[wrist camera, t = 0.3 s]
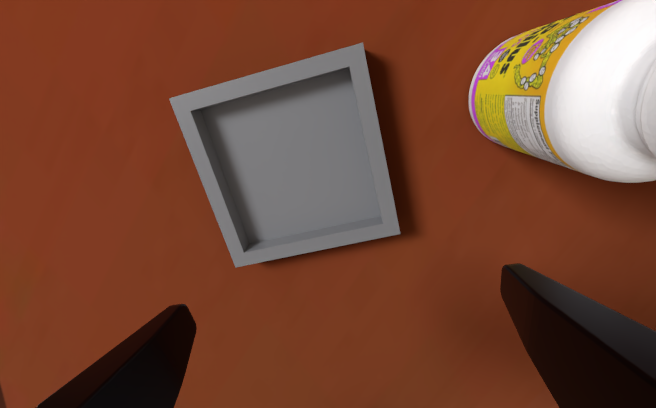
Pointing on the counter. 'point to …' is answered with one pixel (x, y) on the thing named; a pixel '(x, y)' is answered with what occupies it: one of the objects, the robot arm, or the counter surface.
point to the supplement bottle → (577, 92)
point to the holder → (292, 157)
